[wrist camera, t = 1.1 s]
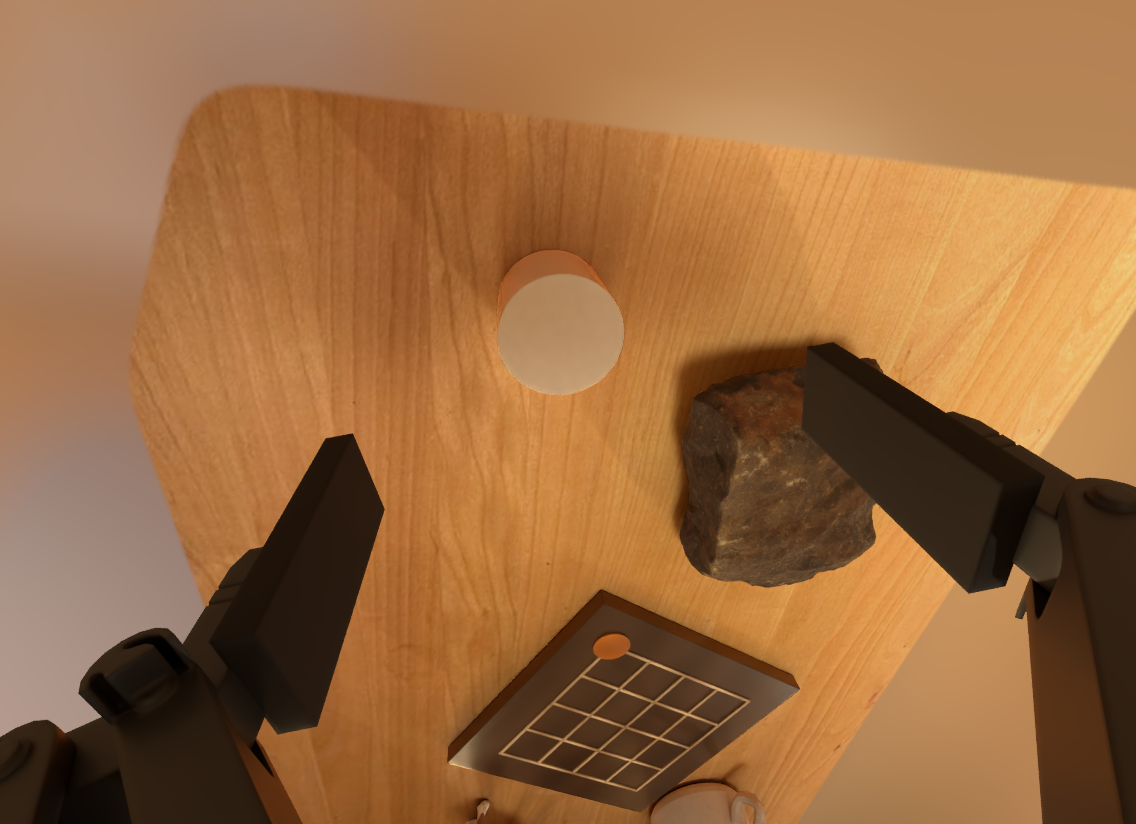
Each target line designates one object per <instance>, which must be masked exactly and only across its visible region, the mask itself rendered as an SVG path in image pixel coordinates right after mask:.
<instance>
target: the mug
mask: <svg viewBox="0 0 1136 824" xmlns="http://www.w3.org/2000/svg"><path fill="white" fill-rule="evenodd" d="M745 803H746V804H749V805H751V806H752V807H753V808H754V810H755V815H754V820H753V824H765V822H766V812H765V809H764V805H763V803H762V802H761V801H760V800H759V799H758V798H757V797H756V796H755V794H752V793H750V792H748V791H743V792H738V793H737V792H736V791H735V790H733V789H732V788H730V787H729V786H726V785H724V784H720V783H698V784H693V785H688V786H686V787H683V788H680V789H677V790H675V791H673V792H671V793H669V794H668V795H666V796H665V797H663V798H662V799H661V800H660V801H659V802H658V803H657V804H656V805H655V807H654V810H653V812H652V814H651V824H749V821H748V817H747V813H746V810H745V806H744V804H745Z"/></svg>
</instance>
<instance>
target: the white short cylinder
mask: <svg viewBox="0 0 1136 824" xmlns="http://www.w3.org/2000/svg"><path fill="white" fill-rule="evenodd" d="M623 342H624V322H623V317H622V314H621V311H620V309H619V307H618V305H617V303H616V301H615V300H614V298H613V297H612V295H611V294H610V292H609V291H608V289H607V288H606V286H605V285H604V283H603V282H602V280H601V279H600V277H599V276H598V274H597V273H596V271H595V270H594V269H593V268H592V267H591V265H590V264H588V263H587V262H586V261H585V260H584V259H582V258H580V257H579V256H577V255H575V254H572V253H570V252H566V251H562V250H542V251H538V252H535V253H532V254H530V255H527V256H526V257H524V258H522V259H521V260H519V261H518V262H517V263H516V264H515V265H514V266H513V267H512V268H511V269H510V270H509V271H508V272H507V274H506V275H505V277H504V279H503V281H502V283H501V286H500V288H499V292H498V299H497V345H498V350H499V353H500V357H501V359H502V361H503V363H504V365H505V367H506V368H507V370H508V371H509V372H510V373H511V374H512V376H513V377H514V378H515V379H517V380H518V381H519V382H520V383H522V384H523V385H525V386H526V387H528V388H530V389H532V390H535V391H537V392H540V393H545V394H551V395H566V394H572V393H576V392H580V391H582V390H585V389H587V388H589V387H591V386H593V385H594V384H596V383H597V382H599V381H600V380H601V379H602V378H604V377H605V376H606V375H607V374H608V373H609V371H610V370H611V369H612V368H613V366H614V365H615V363H616V361H617V359H618V358H619V355H620V353H621V350H622V346H623Z"/></svg>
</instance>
